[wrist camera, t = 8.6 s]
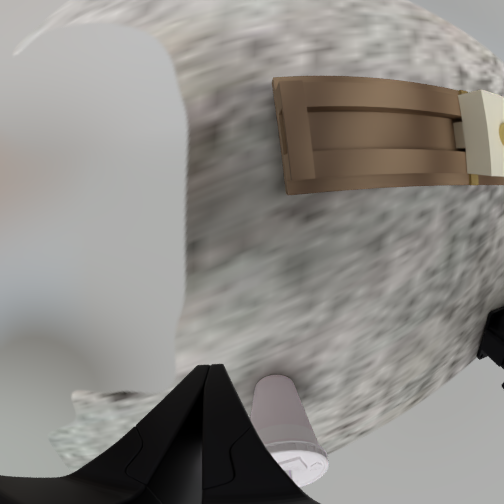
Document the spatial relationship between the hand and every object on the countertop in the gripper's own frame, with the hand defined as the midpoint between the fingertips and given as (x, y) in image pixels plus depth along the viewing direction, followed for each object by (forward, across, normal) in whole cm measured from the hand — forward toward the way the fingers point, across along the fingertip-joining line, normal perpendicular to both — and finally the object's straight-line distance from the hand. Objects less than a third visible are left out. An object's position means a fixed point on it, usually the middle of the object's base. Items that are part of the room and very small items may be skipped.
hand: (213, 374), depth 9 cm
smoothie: (+13, -2, +13) cm, 19 cm away
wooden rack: (+13, -14, -8) cm, 21 cm away
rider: (+9, -18, -8) cm, 21 cm away
